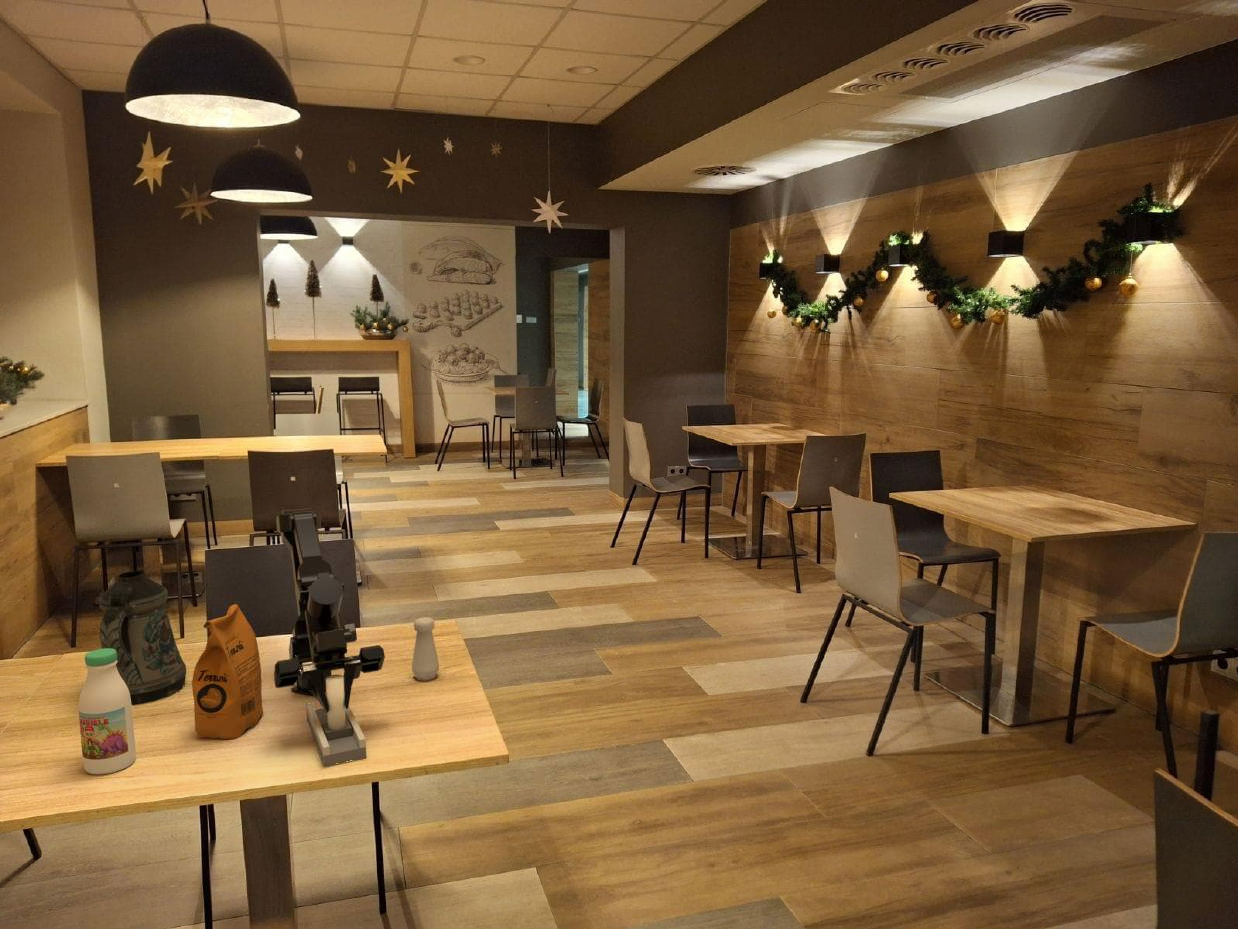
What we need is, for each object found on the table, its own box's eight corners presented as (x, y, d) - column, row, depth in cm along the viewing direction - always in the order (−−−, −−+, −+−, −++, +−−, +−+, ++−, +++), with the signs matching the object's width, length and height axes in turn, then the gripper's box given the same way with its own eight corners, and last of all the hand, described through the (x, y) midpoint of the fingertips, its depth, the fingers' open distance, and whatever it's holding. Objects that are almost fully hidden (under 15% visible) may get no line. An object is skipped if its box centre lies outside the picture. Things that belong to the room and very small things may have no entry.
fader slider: (322, 731, 154) (319, 676, 152) (347, 726, 156) (345, 671, 154) (326, 740, 150) (323, 684, 149) (352, 735, 152) (349, 679, 151)
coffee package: (185, 740, 155) (176, 623, 152) (222, 711, 167) (215, 602, 164) (238, 742, 154) (230, 624, 151) (271, 713, 166) (265, 603, 163)
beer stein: (182, 669, 189) (174, 559, 185) (194, 699, 172) (185, 579, 169) (94, 685, 180) (84, 570, 176) (98, 719, 164) (87, 592, 160)
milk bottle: (98, 755, 149) (88, 644, 146) (144, 753, 150) (135, 643, 147) (74, 777, 142) (63, 661, 139) (123, 775, 142) (113, 659, 140)
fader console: (307, 721, 162) (306, 703, 162) (345, 714, 166) (344, 696, 165) (324, 767, 145) (323, 746, 144) (366, 758, 148) (365, 737, 148)
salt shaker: (432, 683, 181) (430, 624, 179) (407, 681, 182) (405, 622, 180) (443, 673, 186) (442, 615, 185) (419, 671, 188) (417, 614, 186)
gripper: (272, 617, 149) (283, 701, 141) (380, 602, 158) (396, 680, 149) (269, 647, 157) (280, 727, 149) (373, 631, 166) (388, 706, 157)
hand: (337, 710), depth 151 cm, fingers closed on fader slider, 3 cm apart
